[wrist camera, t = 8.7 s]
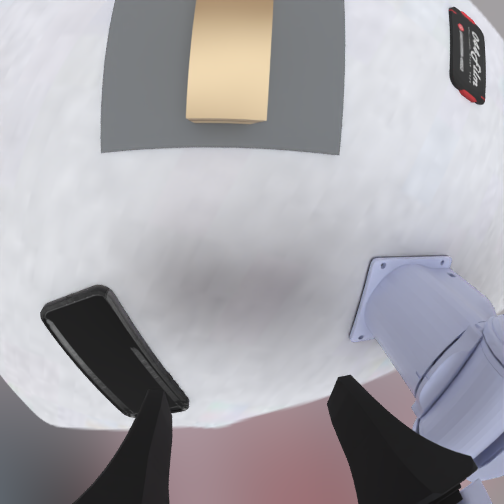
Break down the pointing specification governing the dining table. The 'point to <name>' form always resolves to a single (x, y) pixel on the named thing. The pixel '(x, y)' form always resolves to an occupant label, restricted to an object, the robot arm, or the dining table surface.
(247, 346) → the dining table surface
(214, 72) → the oak domino
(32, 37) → the dining table surface
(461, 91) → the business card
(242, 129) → the rubber mat
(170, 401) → the phone
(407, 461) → the robot arm
